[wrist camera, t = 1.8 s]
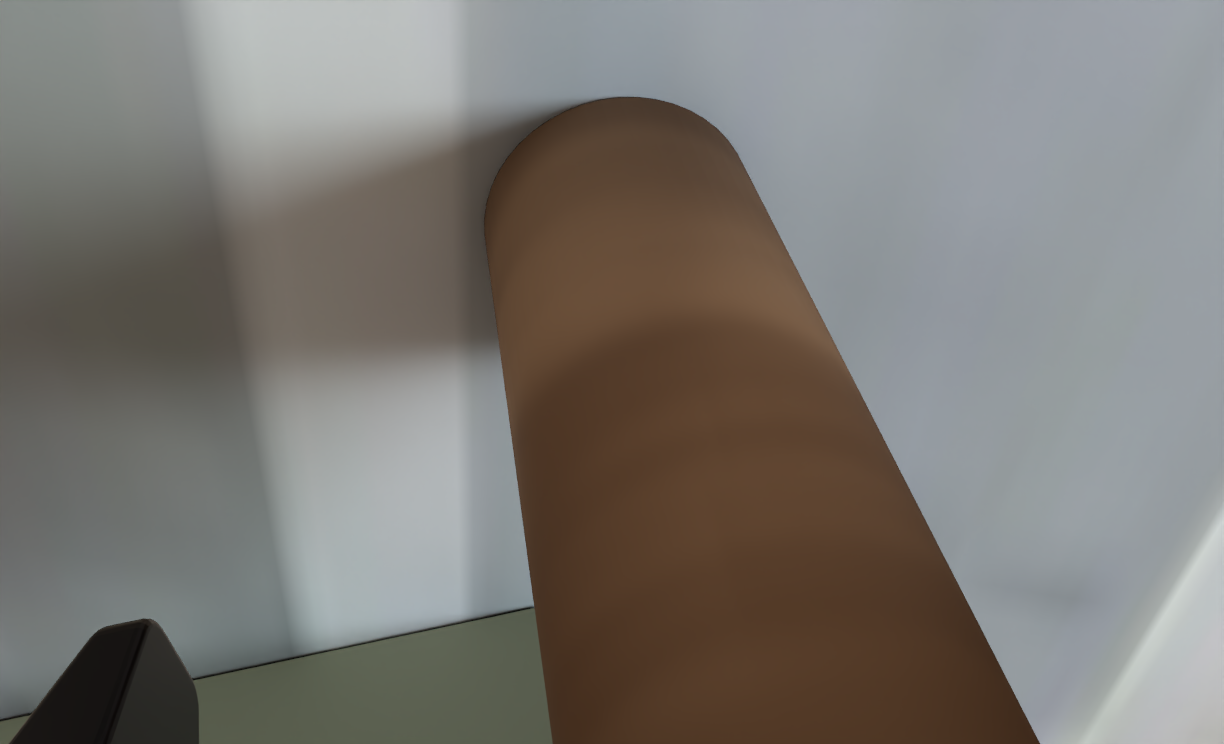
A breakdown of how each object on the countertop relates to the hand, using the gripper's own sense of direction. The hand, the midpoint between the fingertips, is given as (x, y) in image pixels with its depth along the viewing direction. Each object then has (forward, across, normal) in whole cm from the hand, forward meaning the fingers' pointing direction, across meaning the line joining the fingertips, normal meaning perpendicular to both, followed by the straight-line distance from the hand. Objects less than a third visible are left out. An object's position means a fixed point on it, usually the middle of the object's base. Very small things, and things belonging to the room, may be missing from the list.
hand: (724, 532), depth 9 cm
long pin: (+5, 0, 0) cm, 5 cm away
